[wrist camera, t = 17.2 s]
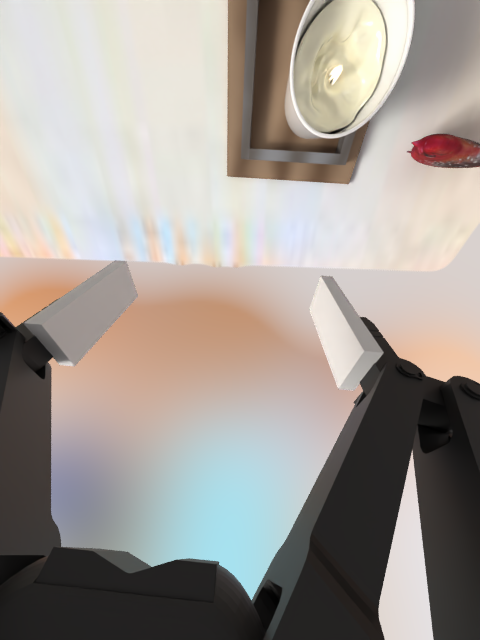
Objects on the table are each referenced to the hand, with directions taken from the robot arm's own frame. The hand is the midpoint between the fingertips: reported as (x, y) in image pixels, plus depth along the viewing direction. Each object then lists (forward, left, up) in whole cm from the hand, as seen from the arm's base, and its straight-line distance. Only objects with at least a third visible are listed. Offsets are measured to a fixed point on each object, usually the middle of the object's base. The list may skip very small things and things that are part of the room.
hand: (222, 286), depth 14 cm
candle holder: (+9, +14, -28) cm, 33 cm away
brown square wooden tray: (+7, +15, -29) cm, 33 cm away
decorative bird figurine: (+29, +9, -29) cm, 42 cm away
